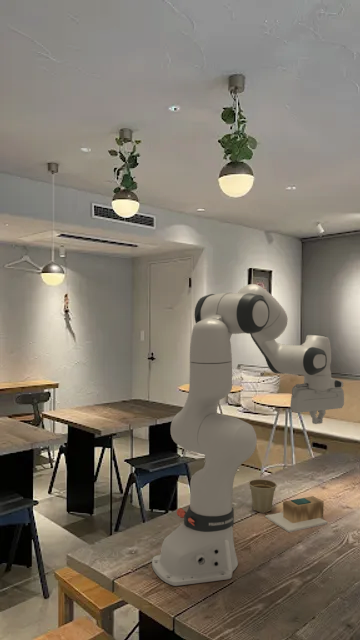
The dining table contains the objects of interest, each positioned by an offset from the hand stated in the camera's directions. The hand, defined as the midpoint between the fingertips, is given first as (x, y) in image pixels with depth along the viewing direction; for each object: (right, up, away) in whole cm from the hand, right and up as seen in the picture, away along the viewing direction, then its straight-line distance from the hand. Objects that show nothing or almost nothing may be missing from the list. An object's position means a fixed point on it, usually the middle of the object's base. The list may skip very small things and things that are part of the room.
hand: (317, 423), depth 163 cm
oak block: (-1, -26, -6) cm, 27 cm away
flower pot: (-19, -29, 0) cm, 34 cm away
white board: (-10, -29, -9) cm, 32 cm away
